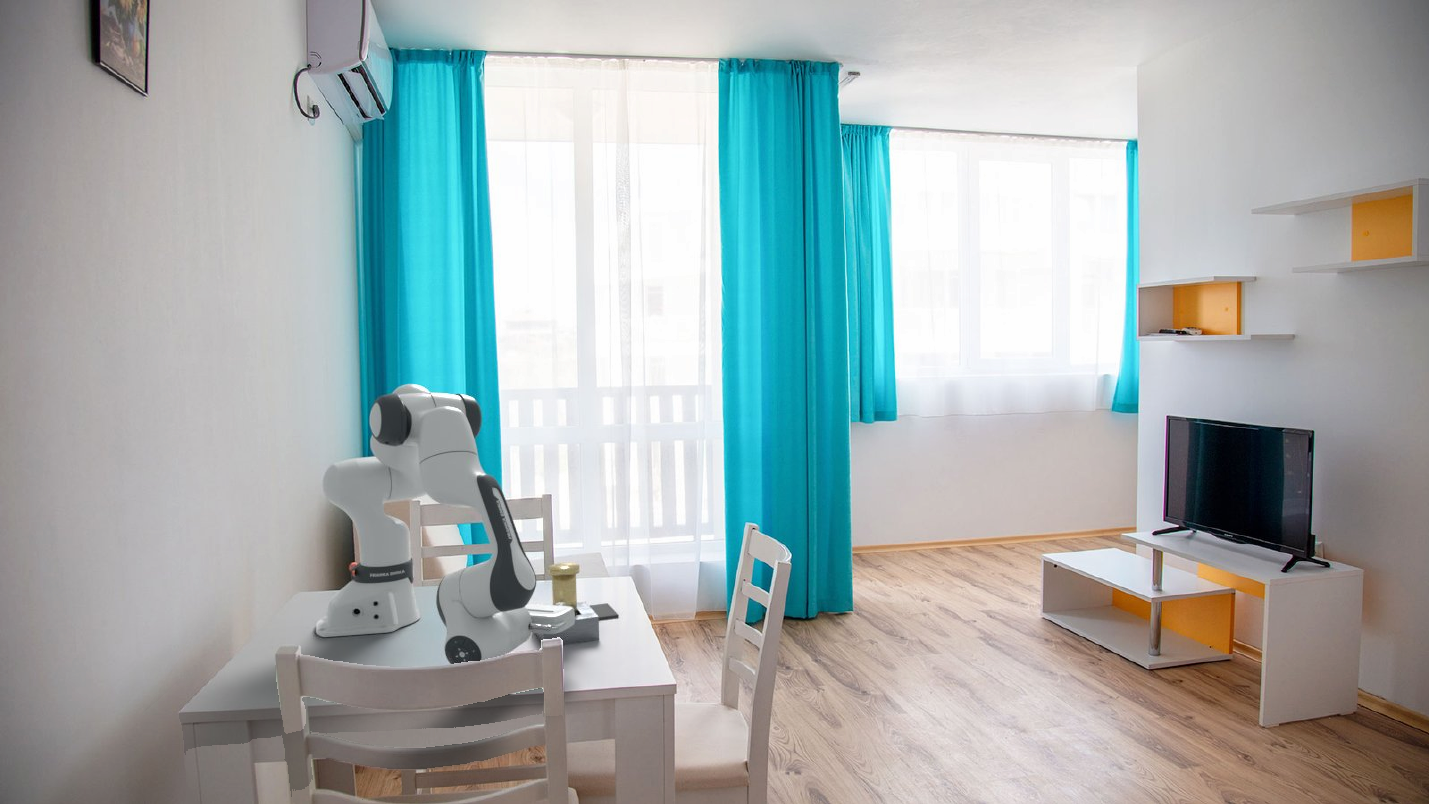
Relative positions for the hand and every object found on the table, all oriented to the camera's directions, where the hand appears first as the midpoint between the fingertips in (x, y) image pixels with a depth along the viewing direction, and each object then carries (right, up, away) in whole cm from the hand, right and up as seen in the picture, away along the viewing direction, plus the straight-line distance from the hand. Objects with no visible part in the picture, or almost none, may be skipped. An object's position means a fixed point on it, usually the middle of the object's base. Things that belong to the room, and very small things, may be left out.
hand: (541, 604), depth 175 cm
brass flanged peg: (+3, -7, +10) cm, 13 cm away
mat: (+7, -8, +25) cm, 27 cm away
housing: (+3, -9, +11) cm, 14 cm away
